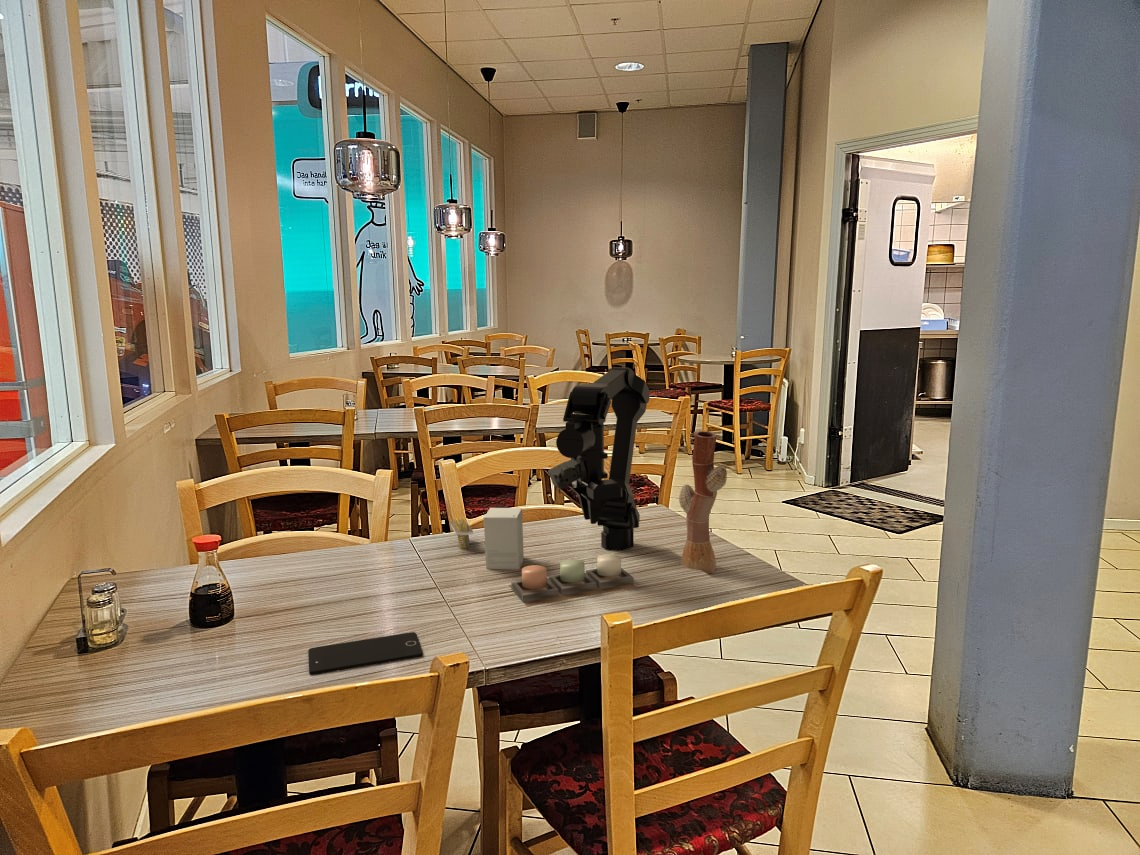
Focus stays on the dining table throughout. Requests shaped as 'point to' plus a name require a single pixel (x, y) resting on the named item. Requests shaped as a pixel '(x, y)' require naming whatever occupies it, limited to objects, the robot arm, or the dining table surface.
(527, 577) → the terracotta button
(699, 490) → the vase
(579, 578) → the sage green rounded piece
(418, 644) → the cell phone
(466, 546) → the toothpick holder
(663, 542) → the dining table surface
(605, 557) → the cream button
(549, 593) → the brown compartment tray
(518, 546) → the supplement box
